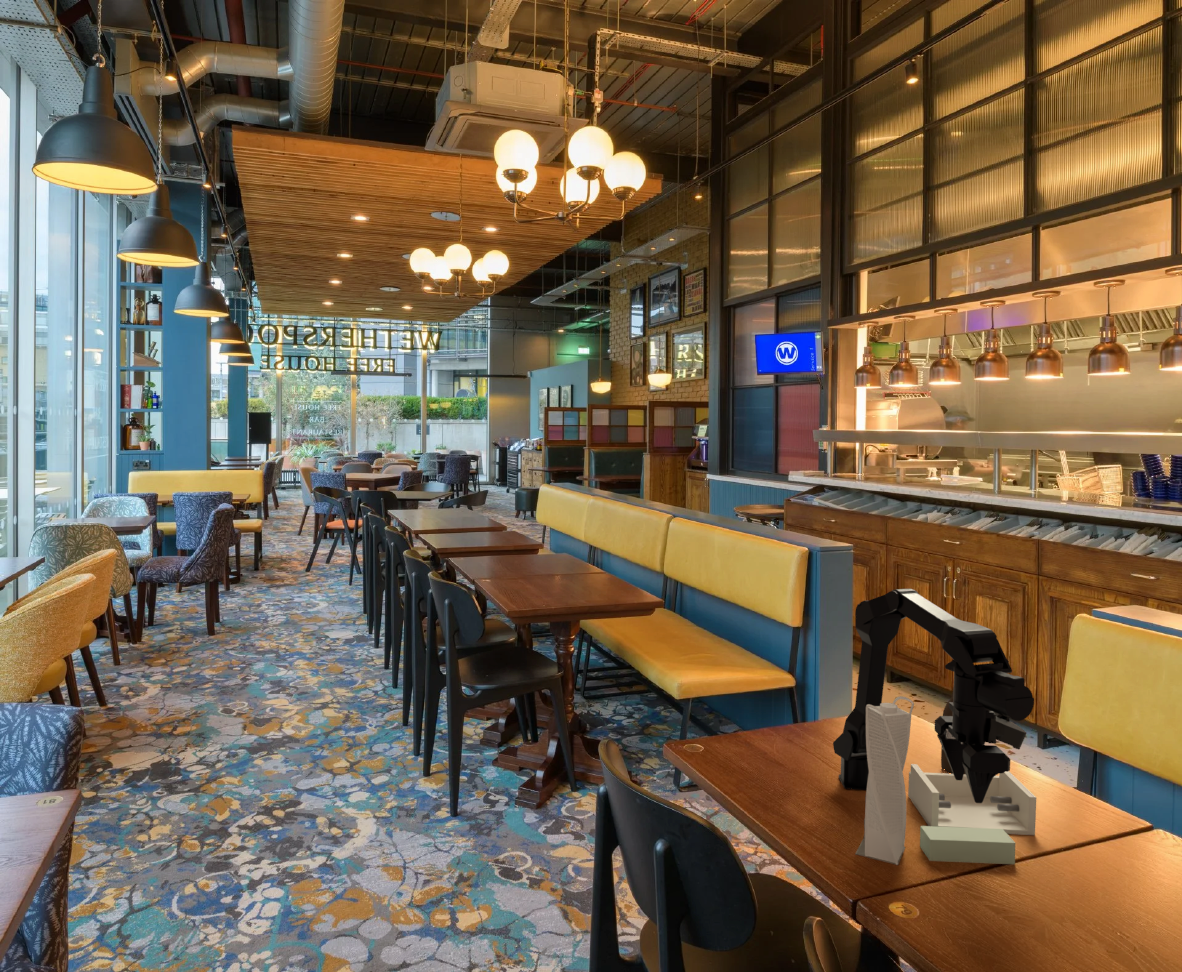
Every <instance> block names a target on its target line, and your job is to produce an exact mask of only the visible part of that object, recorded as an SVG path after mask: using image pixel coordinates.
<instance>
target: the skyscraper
mask: <svg viewBox="0 0 1182 972" xmlns="http://www.w3.org/2000/svg"><path fill="white" fill-rule="evenodd" d="M900 700H904V701H907V702H910V704H911V706H910V709H909V712H908V711H906V710H903V709H901V708H899V707H898V704H896V703H897V701H900ZM914 706H915V703H914V701H913V700H912V699H911V698H908V697H907V696H904V695H903V696H902V695H899V696H897V697H895V699H894V700H893V701H892V703H891V702H882V703H881V704H880V706H873V705H870V704H867V706H866V749H867V761H868V768H869V774H868V782H867V790H865V791H866V792H865V801H864V802H865V810H864V813H865V814H864V819H863V826H864V827H863V829H864V833H863V839H862V840H861V842H860V845H859V846H858V848H857V850H856V851H855V855H856V856H862V857H864V858H868V859H871V860H872V859H873V860H875V861H881V862H884V863H888V864H891V865H895V866H898V865H900V862H901V859H902V858H903V855H904V852H905V849H906V846H905V841H906V829H907V795H906V794H907V793H906V784H905V778H904V777H905V776H904V768H905V764H906V762H907V756H908V751H909V750H908V749H909V744H910V736H911V725H912V713H913V710H914Z"/></svg>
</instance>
